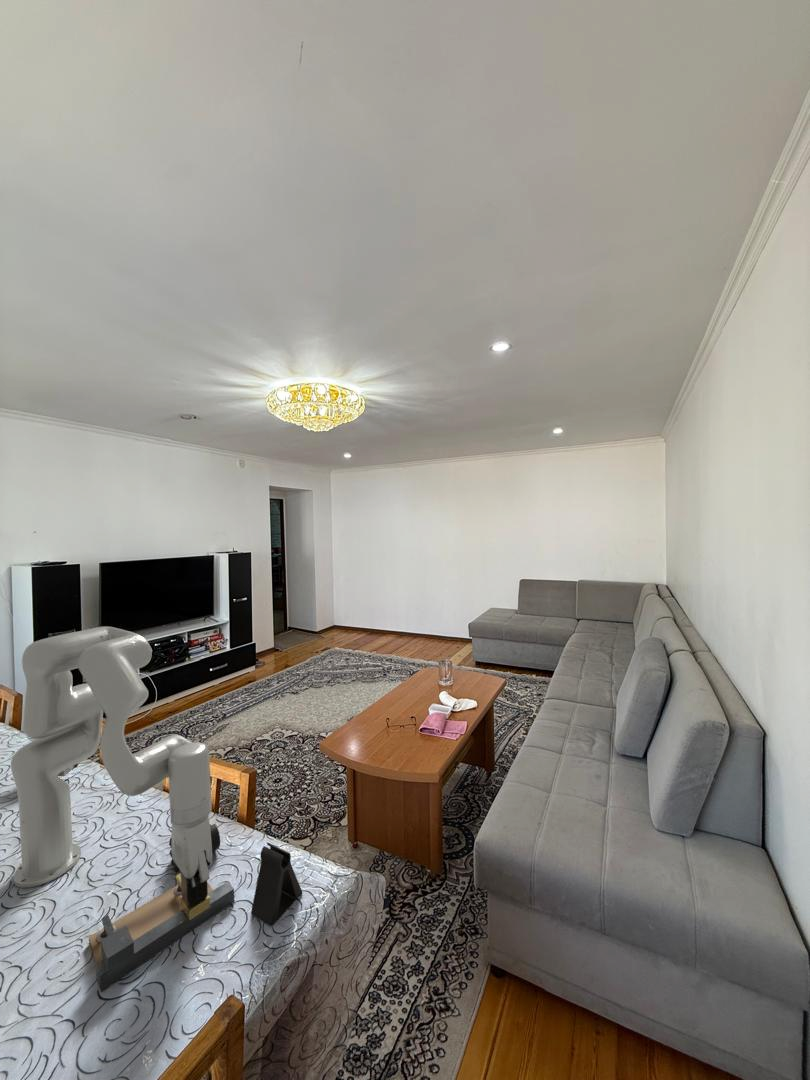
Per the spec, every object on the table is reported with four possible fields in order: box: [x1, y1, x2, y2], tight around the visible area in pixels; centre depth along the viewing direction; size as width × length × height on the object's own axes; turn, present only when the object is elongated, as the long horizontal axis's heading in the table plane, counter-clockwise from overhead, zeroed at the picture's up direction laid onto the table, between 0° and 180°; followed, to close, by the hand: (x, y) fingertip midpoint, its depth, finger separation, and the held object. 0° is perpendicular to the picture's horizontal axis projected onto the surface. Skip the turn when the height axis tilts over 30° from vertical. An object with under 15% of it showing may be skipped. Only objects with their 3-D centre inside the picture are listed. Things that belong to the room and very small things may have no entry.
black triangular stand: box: [250, 842, 303, 928], centre depth 91 cm, size 9×6×12 cm, turn 149°
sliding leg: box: [175, 871, 210, 920], centre depth 89 cm, size 12×4×9 cm, turn 47°
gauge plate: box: [88, 882, 214, 965], centre depth 88 cm, size 8×21×2 cm, turn 137°
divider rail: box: [95, 881, 235, 993], centre depth 86 cm, size 12×24×6 cm, turn 137°
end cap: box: [168, 822, 221, 873], centre depth 104 cm, size 10×7×7 cm
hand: (194, 894), depth 87 cm, fingers closed on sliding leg, 3 cm apart
